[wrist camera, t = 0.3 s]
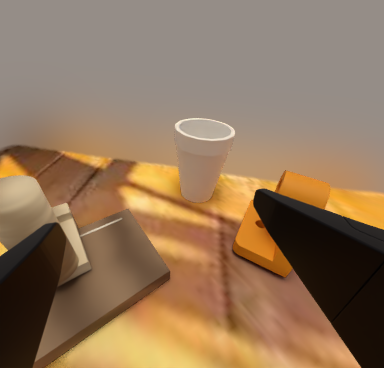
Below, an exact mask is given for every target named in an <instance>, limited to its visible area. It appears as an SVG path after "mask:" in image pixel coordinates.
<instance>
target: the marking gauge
mask: <svg viewBox="0 0 384 368" xmlns="http://www.w3.org/2000/svg"><path fill="white" fill-rule="evenodd" d="M53 222H58V223H59V224H60V226H61V228H62V230H63V232H64V234H65V236H66V247H65V253H64V258H63V264H62V270H61V275H60V279H59V283H58V286H60V285H62V284H64V283H66V282H68V281H69V280H71V279H73V278H75V277H77V276H79V275H81V274H83V273H85V272H87V271H88V270H90V269H92V268H91V266H90V263H89V260H88V257H87V254H86V251H85V249H84V246H83V243H82V240H81V237H80V234H79V232H78V226H77V224H76V222H75V219H74V217H73V215H72V213H71V211H70V208H69V206H68V204H67V203H65V204H62V205H59V206H56V207H53V208H51V206H50V204H49V202H48V201H47V199H46V197H45V195H44V193H43V191H42V190H41V188H40V186H39V184H38V182H37V180H36V179H34V178H33V177H30V176H10V177H5V178H1V179H0V242H1V243H2V244H3V245H4V246H5V247H6V248H7V250H10V249H11V248H12V247H14V246H15V245H17V244H18V243H19V242H21V241H22V240H23V239H25V238H26V237H28V236H29V235H30V234H32V233H33V232H35V231H36V230H37V229H39V228H40V227H41V226H43V225H44V224H47V223H53ZM58 286H57V287H58Z"/></svg>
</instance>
